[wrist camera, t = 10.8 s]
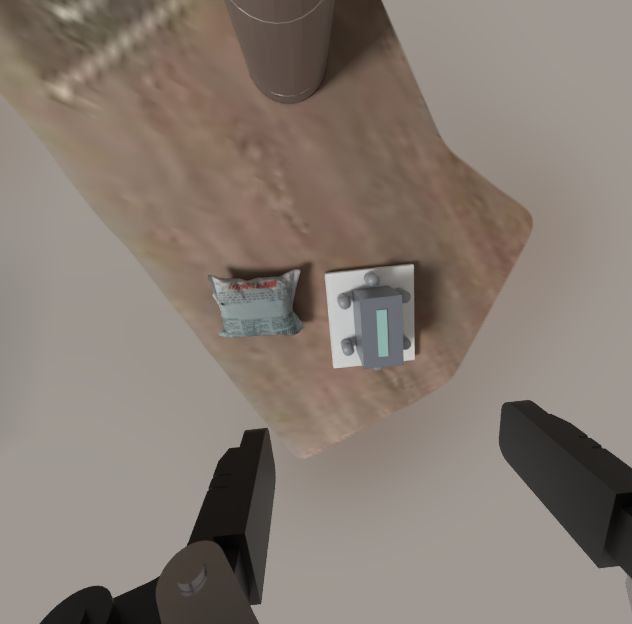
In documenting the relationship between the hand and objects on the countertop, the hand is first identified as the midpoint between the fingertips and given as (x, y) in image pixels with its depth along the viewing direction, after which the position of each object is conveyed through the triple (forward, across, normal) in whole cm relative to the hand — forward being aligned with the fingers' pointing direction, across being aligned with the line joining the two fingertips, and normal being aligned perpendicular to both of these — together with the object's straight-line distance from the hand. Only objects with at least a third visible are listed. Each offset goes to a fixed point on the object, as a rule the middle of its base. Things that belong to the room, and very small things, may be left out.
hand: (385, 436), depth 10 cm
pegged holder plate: (+32, -6, +6) cm, 33 cm away
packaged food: (+32, +9, +2) cm, 34 cm away
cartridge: (+31, -6, +6) cm, 32 cm away
